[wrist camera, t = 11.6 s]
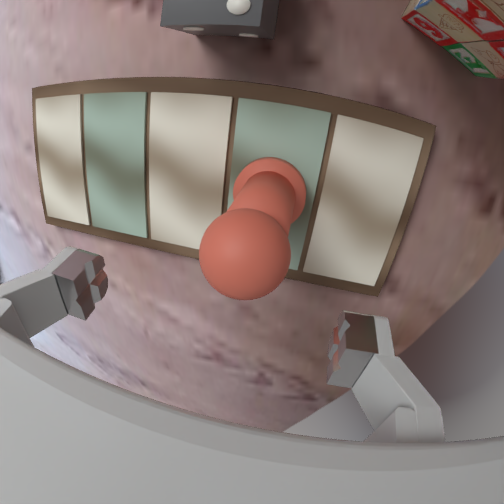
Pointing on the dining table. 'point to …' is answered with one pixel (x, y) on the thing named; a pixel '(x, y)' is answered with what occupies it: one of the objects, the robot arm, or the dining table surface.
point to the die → (222, 17)
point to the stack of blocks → (464, 31)
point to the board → (229, 167)
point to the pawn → (254, 231)
